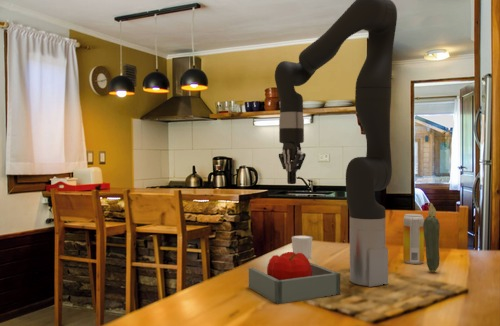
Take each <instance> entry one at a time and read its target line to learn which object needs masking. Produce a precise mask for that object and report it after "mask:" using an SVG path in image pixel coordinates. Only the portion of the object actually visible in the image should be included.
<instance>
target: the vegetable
mask: <svg viewBox="0 0 500 326" xmlns="http://www.w3.org/2000/svg"><path fill="white" fill-rule="evenodd" d="M427 208H428V212H427V213H428V215H427V216H426V217H425V218H424V224H423V231H424V245H425V257H426V265H427V268H428V271H430V272H431V273H433V272H434V273H435V272H436V271H438V268H439V267H440V230H441V229H440V221H439V219H438V218H437V217H436V214H437V210H436V207H434V204H433V203H432V202H428V206H427Z"/></svg>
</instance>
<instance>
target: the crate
mask: <svg viewBox="0 0 500 326" xmlns="http://www.w3.org/2000/svg"><path fill="white" fill-rule="evenodd" d="M310 265H311V268H312V276H308V277H301V278H293V279H286V280H278V279H276V278H274V277H271V276H269V275H267V273H266V272H263V271H261V270H259V269H257V268H254V267H249V268H248V288H249V289H250V290H252V291H254V292H256V293H258V294H259V295H261V296H263V297H265V298H266V299H267V300H269V301H271V302H273V303H274V304H277V305H281V304H286V303H293V302H299V301H300V302H302V301H307V300H312V299H318V298H325V297H324V296H327V297H331V295H333V296H337V295H336V294H339V295H341V273H339V272H336V271H334V270H331V269H329V268H326V267H324V266H320V265H318V264H316V263H312V262H310Z"/></svg>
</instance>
